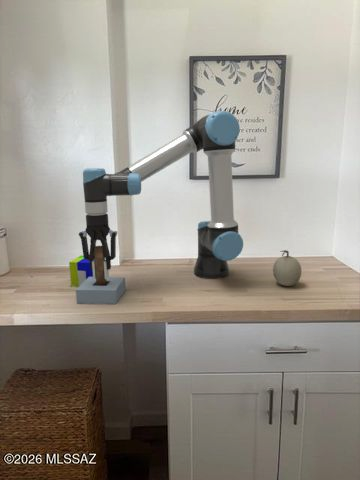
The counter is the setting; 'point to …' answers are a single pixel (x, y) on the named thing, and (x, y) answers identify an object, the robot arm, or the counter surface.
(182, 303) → the counter surface
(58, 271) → the counter surface
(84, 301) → the socket block
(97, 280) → the dowel
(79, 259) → the puzzle toy
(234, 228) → the robot arm
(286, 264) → the fruit
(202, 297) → the counter surface
